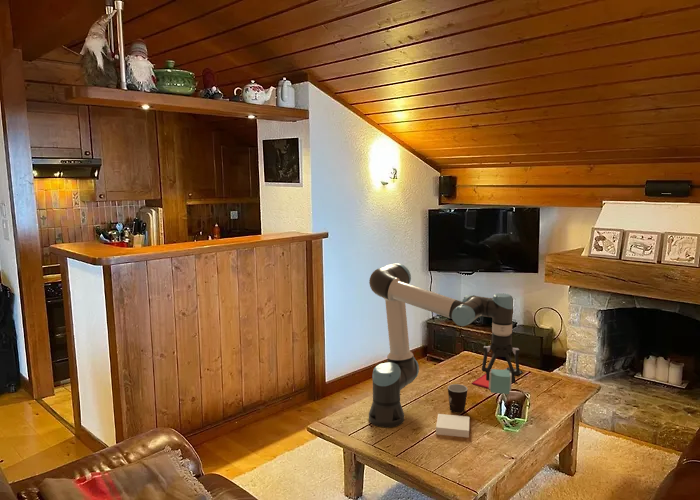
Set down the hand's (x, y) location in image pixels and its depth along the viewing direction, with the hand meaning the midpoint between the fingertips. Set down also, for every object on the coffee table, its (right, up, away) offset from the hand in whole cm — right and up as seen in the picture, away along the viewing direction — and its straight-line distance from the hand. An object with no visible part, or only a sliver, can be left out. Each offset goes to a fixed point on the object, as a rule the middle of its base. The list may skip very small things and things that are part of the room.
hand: (499, 388), depth 216 cm
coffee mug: (-12, -15, +26) cm, 32 cm away
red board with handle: (+16, -10, +57) cm, 60 cm away
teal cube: (0, 0, 0) cm, 0 cm away
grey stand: (-17, -18, +7) cm, 26 cm away
